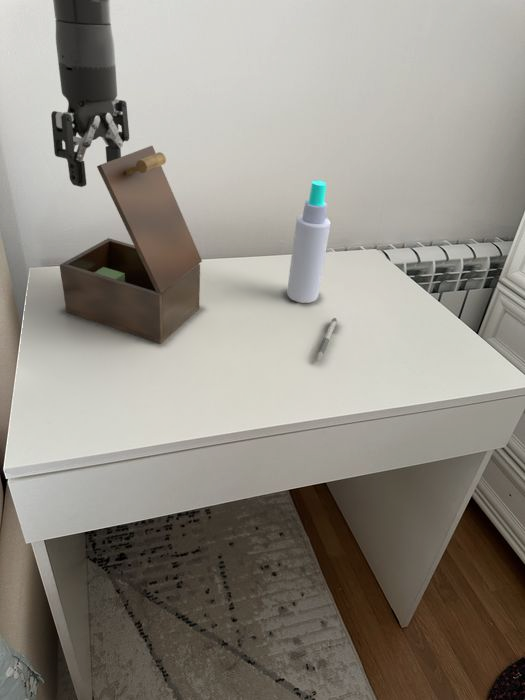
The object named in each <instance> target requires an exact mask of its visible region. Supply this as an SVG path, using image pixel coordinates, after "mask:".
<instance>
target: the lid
mask: <svg viewBox="0 0 525 700" xmlns="http://www.w3.org/2000/svg"><path fill="white" fill-rule="evenodd" d="M166 161H167V158H166V155H165V154H164V153H163V152H160V151H158V152H156V150H155V148H154V145H150V146H146V147H144V148H141V149H139V150H136V151H133V152H130V153H128V154H126V155H123V156H121V157H120V158H117V159H114V160H112V161H109V162H107V161H106V162H104V163H101V164H99V165H96V168H97V170H98V172H99V174H100V177H101V178H102V181H103V183H104V185H105V187H106V189H107V191H108V193H109V195H110V197H111V200H112V202H113V204H114V206H115V208H116V210H117V212H118V214H119V216H120V218H121V221H122V223H123V225H124V227H125V229H126V231H127V233H128V236H129V237H130V240H131V242H132V245H134V246H135V248H136V250H137V252H138V254H139V256H140V259H141V261H142V263H143V265H144V267H145V269H146V271H147V273H148V275H149V277H150V280H151V282H152V284H153V286H154V288H155V290H156V292H157V294H159V293H162V292H163V291H164V290H166V289H167V288H168V287H169V286H171V285H172V284H173V283H175V282H176V281H177V280H179V279H180V278H181V277H182V276H184V275H185V274H186V273H188V272H189V271H190V270H191V269H193V268H194V267H195V266H197V265H198V264H201V263H202V262H203V260H202V257H201V255H200V252H199V250H198V249H197V246H196V243H195V240H194V239H193V237H192V234H191V232H190V230H189V227H188V225H187V223H186V221H185V218H184V216H183V214H182V213H183V212H182V211H181V209H180V206H179V204H178V201H177V199H176V197H175V195H174V192H173V189H172V187H171V185H170V183H169V181H168V178H167V176H166V173H165V171H164V169H163V165H165V164H166Z"/></svg>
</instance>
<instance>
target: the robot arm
mask: <svg viewBox="0 0 525 700" xmlns="http://www.w3.org/2000/svg"><path fill="white" fill-rule="evenodd" d="M52 1H53V3H52V4H53V11H54V19H55V46H56V55H57V62H58V71H59V72H58V73H59V81H60V89H61V94H62V96H63V97H64V98H65V99H66V100H67V103H68V106H67V111H56V110H53V111H52V112H51V115H50V116H51V118H50V119H51V128H52V140H53V152H54V155H55V157H57V158H61V159H65V160H67V161H66V162H67V166H68V174H69V176H68V177H69V181H70V182H71V184H72V185H73V186H76V187H80V188H83V187H86V186H87V174H86V166H85V165H86V164H85V160H84V157H85V154H86V151H87V149H88V148H90V147H91V145H92V143H93V141H94V140H97V139H98V138H101V139H102V140H103V142H104V143H105V145H106V146H105V159H106V162H109V161H112V160H114V159H117V158H120V157H122V151H121V148H123V145H124V142H128V141H129V140H130V128H129V116H128V106H127V101H126V100H122V99H117V97H118V85H117V84H118V83H117V82H118V81H117V68H116V67H117V66H116V52H115V41H114V35H113V29H112V24H111V23H112V20H111V2H110V0H52ZM119 126H120V127H121V131H120V130H119ZM77 135H78V136H79V137H78V136H77ZM63 143H64V146H63ZM76 146H77V149H76ZM75 149H76V151H75Z"/></svg>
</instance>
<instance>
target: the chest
mask: <svg viewBox="0 0 525 700" xmlns="http://www.w3.org/2000/svg"><path fill="white" fill-rule="evenodd" d="M102 267H105V268H109V269H112V270H115V271H119V272H122V273H125V282H123V281H119V280H116V279H113V278H110V277H106V276H103V275H100V274H97V273H94V272H96V271H97V270H99V269H101V268H102ZM59 272H60V278H61V279H60V280H61V284H62V285H61V286H62V291H63V298H64V305H65V306H64V307H65V312H66V313H69V314H71V315H74V316H77V317H80V318H83V319H85V320H89V321H92V322H94V323H98V324H101V325H104V326H107V327H109V328H112V329H116V330H118V331H122V332H124V333H126V334H130V335H133V336H136V337H139V338H142V339H145V340H147V341H150V342H153V343H157V344H160V345H161V344H162V343H164V341H166V340H167V339H169V337H170V336H171V335H172V334H173V333H175V331H176V330H178V329H179V328H180V327H181V326H182V325H184V323H186V322H187V321H188V320H189V319H190V318H191V317H192V316H193V315H194V314H195V313H197V312H198V311H199V310H200V295H201V294H200V292H201V291H200V289H201V263H199V264H198V265H197V266H195V267H194V268H193V269H191V270H190V271H189V272H188V273H186V274H185V275H184V276H182V277H181V278H180V279H179V280H177V281H176V282H175V283H173V284H172V285H171V286H169V287H168V288H167V289H166V290H164V291H163V292H162V293H159V294H157V292H156V290H155V288H154V286H153V284H152V282H151V280H150V277H149V275H148V273H147V271H146V269H145V267H144V265H143V263H142V261H141V259H140V256H139V254H138V252H137V250H136V248H135V246H134V244H130V243H127V242H124V241H120V240H116V239H113V238H110V237H107V238H106V239H104V240H102V241H100V242H98V243H96V244H95V245H93V246H91V247H90V248H88V249H86V250H84V251H82V252H80V253H78V254H77V255H75V256H73V257H71V258H69V259H67V260H66V261H64V262H62V263H61V264H59Z"/></svg>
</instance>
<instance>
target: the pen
mask: <svg viewBox="0 0 525 700" xmlns="http://www.w3.org/2000/svg"><path fill="white" fill-rule="evenodd" d="M337 322H338V319H337V317H334V318H332V319H331V321H330V324H329V326H328V327H327V330H326V333H325V335H324V337H323V339H322V340H321V344H320V346H319V349H318V350H317V353H316V361H317V362H319V361H321V359H322V357H323V356H324V354H325V352H326V349H327V348H328V344H329V342H330V339H331V337H332V334H333V333H334V330H335V327H336V324H337Z"/></svg>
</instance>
